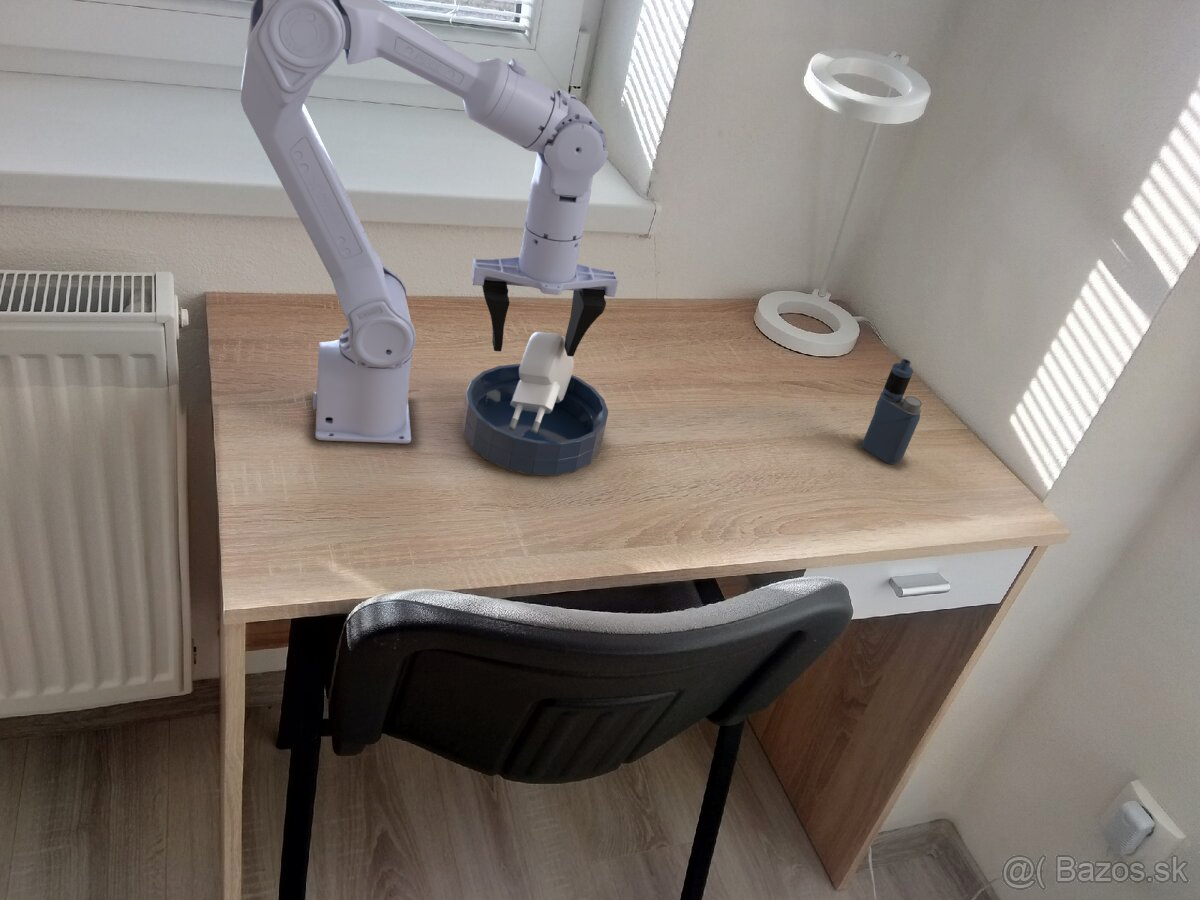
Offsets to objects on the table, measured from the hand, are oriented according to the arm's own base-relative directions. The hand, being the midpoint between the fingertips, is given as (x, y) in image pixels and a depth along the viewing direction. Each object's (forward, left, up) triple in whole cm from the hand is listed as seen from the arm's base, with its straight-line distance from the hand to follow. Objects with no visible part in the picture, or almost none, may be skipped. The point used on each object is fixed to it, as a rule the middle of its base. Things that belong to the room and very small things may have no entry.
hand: (533, 349), depth 109 cm
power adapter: (+3, 0, -7) cm, 7 cm away
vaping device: (+43, -3, -10) cm, 44 cm away
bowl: (+1, -2, -10) cm, 10 cm away
